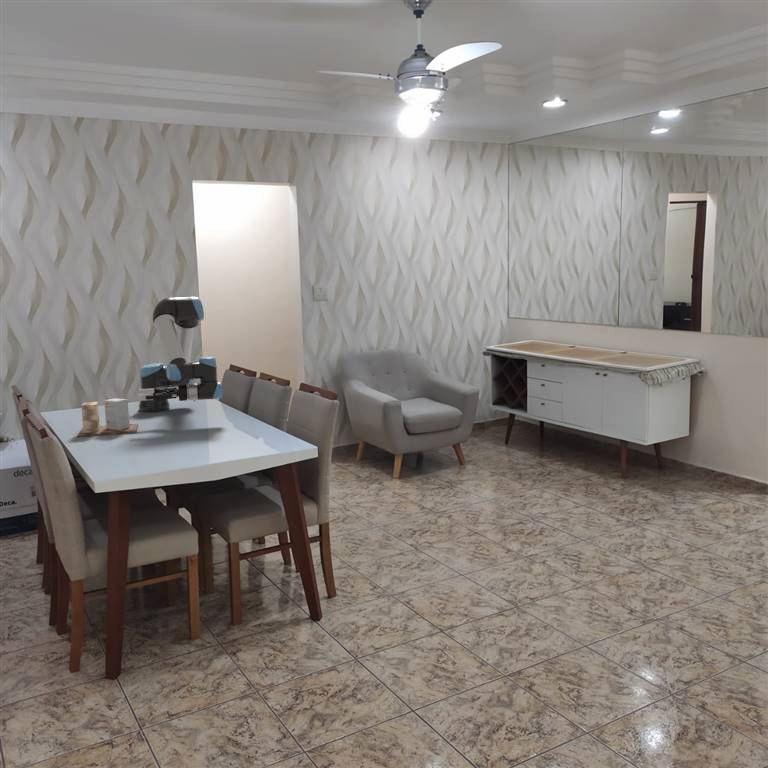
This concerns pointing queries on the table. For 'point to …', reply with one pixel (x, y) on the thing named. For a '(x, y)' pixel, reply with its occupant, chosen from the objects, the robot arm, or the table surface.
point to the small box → (117, 414)
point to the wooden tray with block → (98, 423)
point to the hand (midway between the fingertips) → (138, 394)
